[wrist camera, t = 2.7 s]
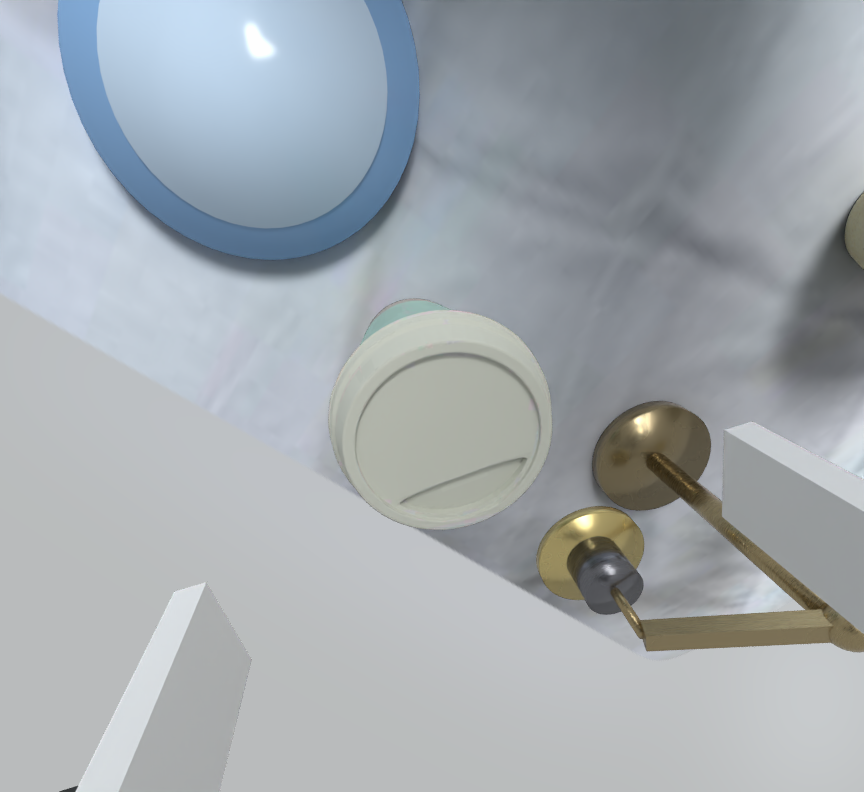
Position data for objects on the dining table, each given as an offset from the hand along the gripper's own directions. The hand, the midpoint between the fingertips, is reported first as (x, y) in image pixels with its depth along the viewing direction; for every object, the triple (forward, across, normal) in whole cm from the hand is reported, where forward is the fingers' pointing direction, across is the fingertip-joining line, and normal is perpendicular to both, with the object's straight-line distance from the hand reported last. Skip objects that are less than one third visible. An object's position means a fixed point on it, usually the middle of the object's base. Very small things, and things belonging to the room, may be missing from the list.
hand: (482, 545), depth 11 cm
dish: (+17, -4, +14) cm, 22 cm away
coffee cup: (+17, 0, 0) cm, 17 cm away
